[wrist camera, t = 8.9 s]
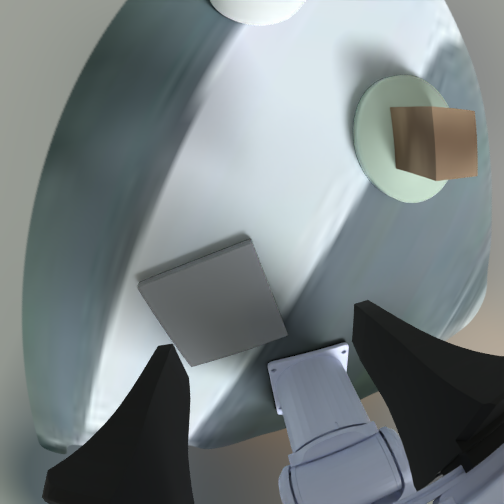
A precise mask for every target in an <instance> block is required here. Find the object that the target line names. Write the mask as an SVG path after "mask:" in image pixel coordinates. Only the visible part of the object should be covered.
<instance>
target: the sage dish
mask: <svg viewBox="0 0 504 504" xmlns="http://www.w3.org/2000/svg"><path fill="white" fill-rule="evenodd" d="M412 106H433V107H444V108H449V107H448V105H447V103H446V102H445V100H444V99H443V97H442V96H441V95H440V93H439V92H438V91H437V90H436V89H435V88H434V87H433V86H431V85H430V84H429V83H428V82H426V81H424V80H422V79H420V78H418V77H415V76H410V75H397V76H392V77H387V78H384V79H381V80H379V81H377V82H376V83H374V84H373V85H372V86H370V87H369V88H368V90H367V91H366V92H365V93H364V95H363V96H362V98H361V99H360V102H359V104H358V106H357V109H356V113H355V117H354V124H353V138H354V146H355V151H356V155H357V158H358V161H359V163H360V166H361V168H362V170H363V172H364V173H365V175H366V176H367V178H368V179H369V181H370V182H371V183H372V184H373V185H374V186H375V187H376V188H377V189H378V190H380V191H381V192H383V193H384V194H386V195H388V196H391V197H393V198H395V199H397V200H399V201H403V202H407V203H417V202H422V201H425V200H427V199H429V198H431V197H433V196H434V195H435V194H437V193H438V192H439V191H440V190H441V189H442V188H443V186H444V185H445V184H446V182H447V181H448V180H442V181H434V180H431V179H428V178H425V177H422V176H419V175H416V174H413V173H409V172H406V171H403V170H399V169H396V163H395V149H394V138H393V128H392V120H391V112H390V107H412Z"/></svg>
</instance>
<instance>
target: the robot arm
mask: <svg viewBox="0 0 504 504" xmlns="http://www.w3.org/2000/svg"><path fill="white" fill-rule="evenodd" d="M352 342H353V344H354V347H355V349H356V351H357V354H358V356H359V358H360V360H361V362H362V364H363V366H364V367H365V369H366V371H367V372H368V374H369V376H370V377H371V379H372V381H373V382H374V384H375V385H376V387H377V389H378V390H379V392H380V394H381V395H382V397H383V399H384V401H385V402H386V404H387V406H388V408H389V411H390V413H391V415H392V418H393V420H394V422H395V425H396V427H397V429H398V433H399V435H400V437H399V435H398V434H397V433H396V432H395V430H393V429H390V428H387V427H382V428H380V429H379V431H378V429H377V427H376V425H375V422H374V421H372V422H370V420H369V417H368V415H367V413H366V411H365V409H364V407H363V405H362V403H361V401H360V399H359V397H358V395H357V393H356V391H355V389H354V387H353V385H352V383H351V381H350V379H349V377H348V375H347V373H346V371H347V361H348V349H349V346H348V344H347V343H345V342H344V343H340V344H337V345H333V346H330V347H326V348H323V349H319V350H316V351H312V352H308V353H304V354H300V355H296V356H292V357H288V358H284V359H280V360H276V361H271V362H269V363H268V371H269V375H270V380H271V385H272V390H273V394H274V399H275V404H276V409H277V413H278V414H280V415H281V414H283V416H284V420H285V424H286V428H287V432H288V436H289V440H290V444H291V448H292V451H293V454H290V455H288V458H289V462H290V465H288V466H285V467H284V468H283V470H282V472H281V474H280V476H279V491H280V496H281V499H282V502H283V504H427V503H428V502H430V501H432V500H434V501H433V504H504V356H495V355H490V354H485V353H480V352H476V351H472V350H469V349H465V348H462V347H459V346H456V345H453V344H450V343H448V342H445V341H443V340H440V339H438V338H436V337H433V336H431V335H429V334H427V333H425V332H423V331H421V330H419V329H417V328H415V327H413V326H412V325H410V324H408V323H406V322H404V321H403V320H401V319H399V318H397V317H396V316H394V315H392V314H391V313H389V312H387V311H386V310H384V309H382V308H381V307H379V306H377V305H376V304H374V303H372V302H370V301H369V300H366V301H363V302H360V303H356V304H354V321H353V336H352ZM343 350H344V351H343ZM189 415H190V385H189V377H188V375H187V373H186V371H185V369H184V367H183V364H182V362H181V360H180V358H179V356H178V354H177V352H176V350H175V348H174V346H173V344H168V345H161V346H158V347H157V349H156V350H155V352H154V353H153V355H152V357H151V358H150V360H149V362H148V363H147V365H146V367H145V368H144V370H143V372H142V373H141V375H140V376H139V378H138V380H137V381H136V383H135V384H134V386H133V388H132V389H131V391H130V392H129V393H128V395H127V396H126V398H125V399H124V401H123V402H122V403H121V405H120V406H119V408H118V409H117V410H116V411H115V413H114V414H113V415H112V416H111V417H110V419H109V420H108V421H107V422H106V423H105V424H104V425H103V426H102V427H101V428H100V429H99V430H98V431H97V432H96V433H95V434H94V435H93V436H92V437H91V438H90V439H89V440H88V441H87V442H86V443H85V444H84V445H83V446H82V447H80V448H79V449H78V450H77V451H75V452H74V453H73V454H72V455H70V456H69V457H68V458H66V459H65V460H64V461H62V462H60V463H59V464H57V465H56V466H54V467H52V468H51V469H49V470H48V472H47V476H46V481H45V485H44V490H43V495H42V498H43V499H44V500H45V501H46V502H47V503H49V504H194V499H193V493H192V487H191V480H190V471H189V461H188V433H189ZM400 438H401V439H400ZM435 498H436V499H435Z"/></svg>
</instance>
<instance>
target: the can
mask: <svg viewBox="0 0 504 504" xmlns="http://www.w3.org/2000/svg"><path fill="white" fill-rule="evenodd" d="M210 2H211V3H212V5H213V6H214V7H215V9H216V10H217V11H219V12H220V13H221V14H222V15H224V16H226V17H227V18H229V19H231V20H234V21H236V22H239V23H243V24H248V25H271V24H276V23H279V22H282V21H285V20H287V19H288V18H290V17H291V16H293V15H294V14H295V13H296V12H297V11H298V10H299V9H300V8H301V6H302V5H303V4H304V3H305V2H306V0H210Z"/></svg>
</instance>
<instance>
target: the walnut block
mask: <svg viewBox="0 0 504 504" xmlns="http://www.w3.org/2000/svg"><path fill="white" fill-rule="evenodd" d="M390 112H391V120H392V128H393V138H394V149H395V163H396V169H399V170H403V171H406V172H409V173H413V174H416V175H419V176H422V177H425V178H428V179H431V180H434V181H442V180H449V179H457V178H465V177H473V176H477V134H476V120H475V111H470V110H462V109H454V108H444V107H433V106H412V107H390Z"/></svg>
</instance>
